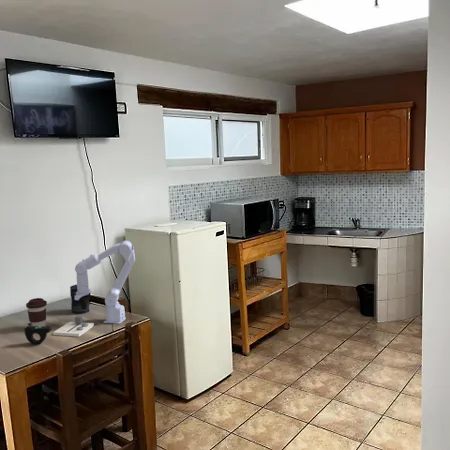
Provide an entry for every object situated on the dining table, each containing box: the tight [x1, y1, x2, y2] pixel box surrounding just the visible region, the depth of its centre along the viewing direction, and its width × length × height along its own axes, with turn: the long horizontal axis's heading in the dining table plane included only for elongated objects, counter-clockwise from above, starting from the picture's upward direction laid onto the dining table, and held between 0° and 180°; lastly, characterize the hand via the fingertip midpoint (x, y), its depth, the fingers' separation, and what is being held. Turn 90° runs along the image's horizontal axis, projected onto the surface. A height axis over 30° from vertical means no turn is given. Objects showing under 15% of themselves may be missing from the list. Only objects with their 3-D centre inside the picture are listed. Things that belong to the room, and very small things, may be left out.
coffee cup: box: [25, 297, 48, 326], centre depth 239 cm, size 10×10×15 cm
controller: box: [24, 322, 53, 345], centre depth 218 cm, size 4×12×10 cm, turn 91°
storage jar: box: [69, 284, 90, 315], centre depth 263 cm, size 10×10×15 cm
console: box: [52, 321, 95, 338], centre depth 234 cm, size 14×15×2 cm
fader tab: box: [74, 315, 84, 324], centre depth 239 cm, size 3×2×4 cm, turn 78°
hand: (84, 309), depth 244 cm, fingers closed
